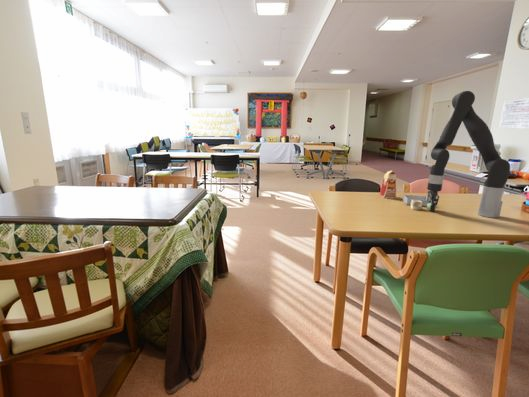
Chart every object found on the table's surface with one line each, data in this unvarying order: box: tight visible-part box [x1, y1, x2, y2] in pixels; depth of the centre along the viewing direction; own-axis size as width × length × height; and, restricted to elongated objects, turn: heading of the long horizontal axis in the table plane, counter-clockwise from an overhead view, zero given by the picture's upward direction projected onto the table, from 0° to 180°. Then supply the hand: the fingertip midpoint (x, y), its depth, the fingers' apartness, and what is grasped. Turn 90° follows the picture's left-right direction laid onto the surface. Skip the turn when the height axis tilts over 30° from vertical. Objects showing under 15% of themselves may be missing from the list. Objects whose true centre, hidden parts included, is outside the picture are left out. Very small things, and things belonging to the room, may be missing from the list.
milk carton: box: [379, 170, 397, 200], centre depth 210 cm, size 9×9×20 cm
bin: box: [401, 194, 429, 207], centre depth 195 cm, size 15×13×4 cm
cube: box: [409, 200, 423, 211], centre depth 182 cm, size 5×5×5 cm
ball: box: [426, 203, 437, 211], centre depth 178 cm, size 5×5×5 cm
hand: (430, 209), depth 179 cm, fingers closed on ball, 5 cm apart
